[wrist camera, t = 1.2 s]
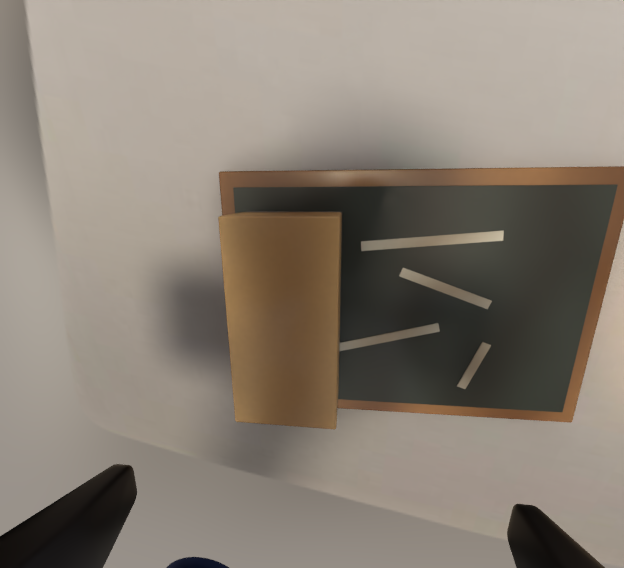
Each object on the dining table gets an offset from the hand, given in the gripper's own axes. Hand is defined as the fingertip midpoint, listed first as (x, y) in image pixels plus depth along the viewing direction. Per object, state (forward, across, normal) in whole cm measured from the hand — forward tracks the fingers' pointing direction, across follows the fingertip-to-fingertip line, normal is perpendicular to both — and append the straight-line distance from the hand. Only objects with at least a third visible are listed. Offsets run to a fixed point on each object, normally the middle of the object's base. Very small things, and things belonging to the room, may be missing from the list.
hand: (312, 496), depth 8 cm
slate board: (+12, -4, -1) cm, 13 cm away
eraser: (+11, +2, -1) cm, 11 cm away
